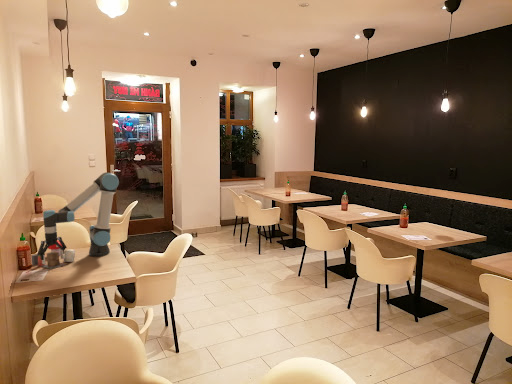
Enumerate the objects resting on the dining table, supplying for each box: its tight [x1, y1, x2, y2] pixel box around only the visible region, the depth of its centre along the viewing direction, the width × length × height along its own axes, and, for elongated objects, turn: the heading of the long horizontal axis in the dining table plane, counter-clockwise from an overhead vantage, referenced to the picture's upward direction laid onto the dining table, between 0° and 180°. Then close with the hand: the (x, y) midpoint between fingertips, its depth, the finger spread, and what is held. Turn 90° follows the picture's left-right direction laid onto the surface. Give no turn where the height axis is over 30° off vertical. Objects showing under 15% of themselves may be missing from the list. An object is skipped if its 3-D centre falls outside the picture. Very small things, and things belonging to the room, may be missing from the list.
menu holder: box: [30, 252, 46, 266], centre depth 278 cm, size 8×3×7 cm, turn 150°
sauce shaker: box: [37, 255, 46, 268], centre depth 273 cm, size 4×4×9 cm
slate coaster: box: [41, 262, 66, 270], centre depth 273 cm, size 11×11×1 cm
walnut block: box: [46, 251, 61, 267], centre depth 272 cm, size 6×6×9 cm
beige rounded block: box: [63, 248, 76, 263], centre depth 282 cm, size 7×7×8 cm
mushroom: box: [47, 240, 63, 257], centre depth 297 cm, size 11×11×12 cm
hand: (53, 261), depth 272 cm, fingers open, 13 cm apart
